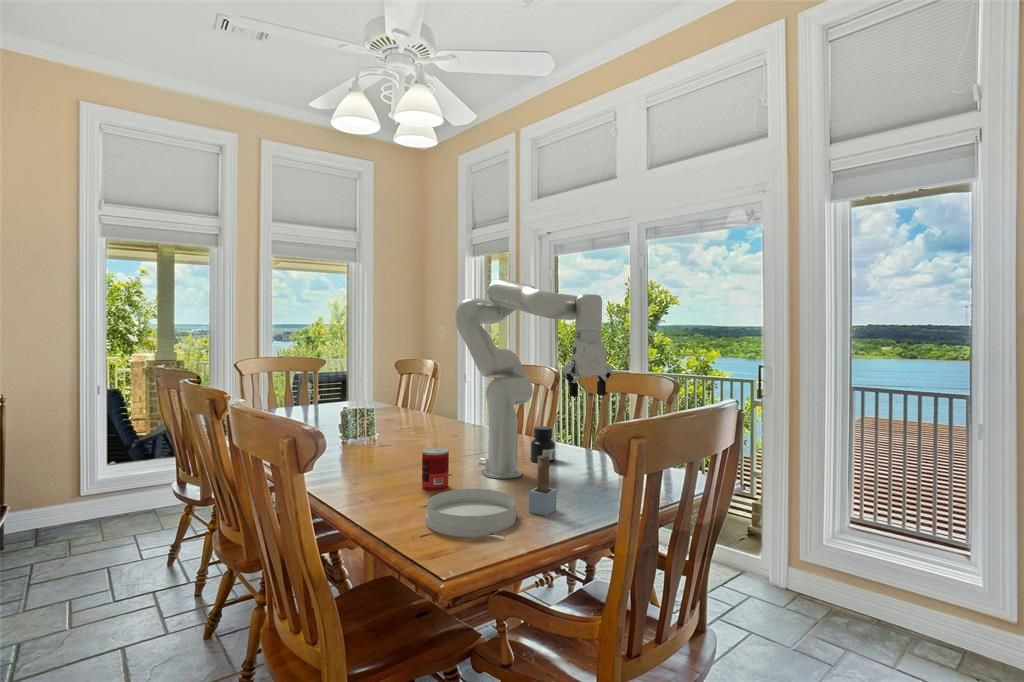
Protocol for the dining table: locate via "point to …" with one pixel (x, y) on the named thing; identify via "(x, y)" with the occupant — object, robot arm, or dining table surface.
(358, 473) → the dining table surface
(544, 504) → the cup
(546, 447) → the ink bottle
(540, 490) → the dowel
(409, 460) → the dining table surface
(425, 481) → the canned food
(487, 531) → the dish
